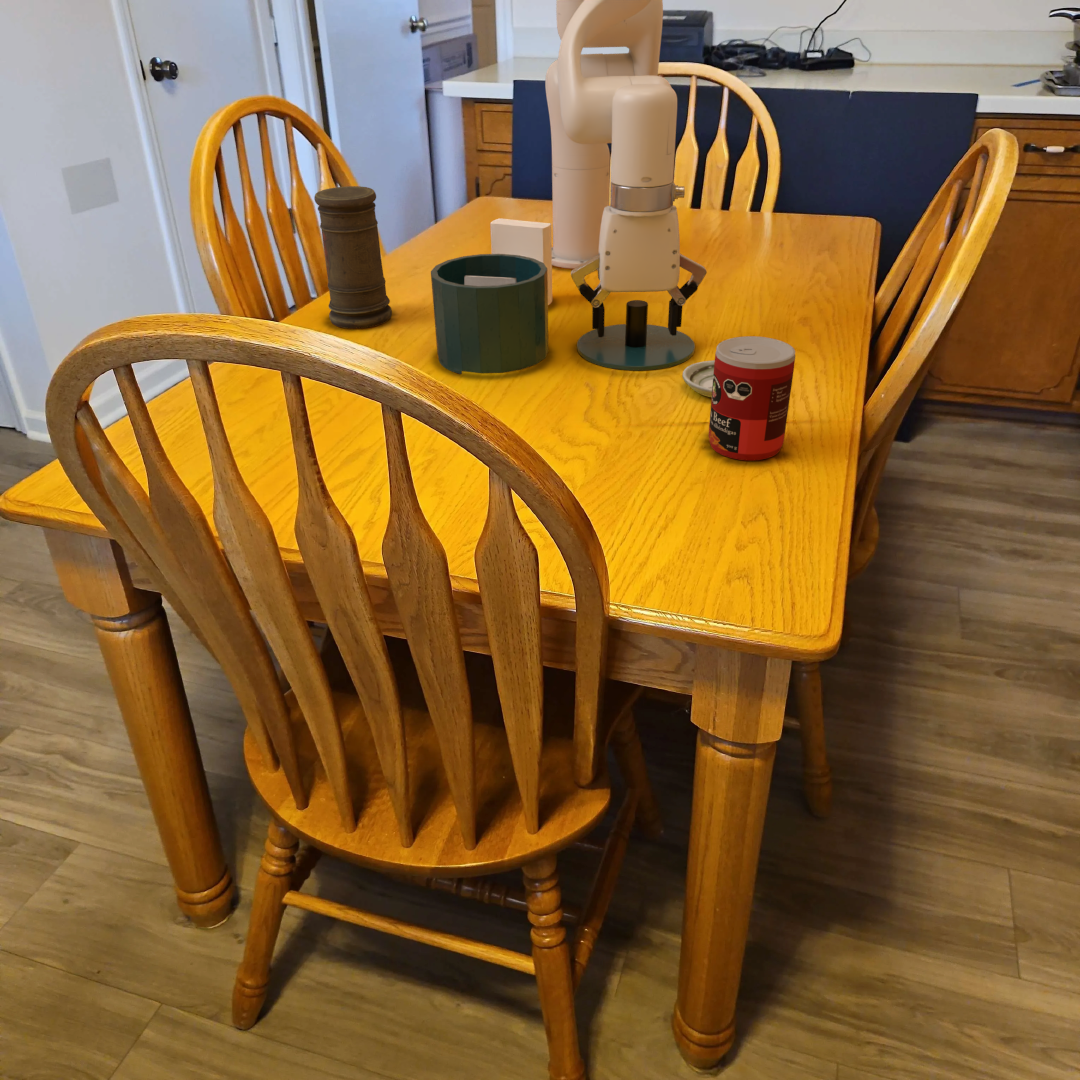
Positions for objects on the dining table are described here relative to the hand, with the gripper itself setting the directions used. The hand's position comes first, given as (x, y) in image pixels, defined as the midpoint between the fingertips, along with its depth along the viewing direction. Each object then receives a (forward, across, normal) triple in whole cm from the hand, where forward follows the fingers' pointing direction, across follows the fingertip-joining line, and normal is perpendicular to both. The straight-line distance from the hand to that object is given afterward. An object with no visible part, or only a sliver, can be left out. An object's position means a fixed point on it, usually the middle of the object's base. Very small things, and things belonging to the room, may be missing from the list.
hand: (636, 332), depth 122 cm
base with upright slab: (+3, +15, -21) cm, 26 cm away
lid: (+2, 0, 0) cm, 2 cm away
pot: (+3, +19, 0) cm, 19 cm away
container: (+3, +39, -16) cm, 42 cm away
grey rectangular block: (+2, +19, 0) cm, 19 cm away
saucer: (+3, -9, +14) cm, 17 cm away
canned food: (+3, -9, +28) cm, 29 cm away
